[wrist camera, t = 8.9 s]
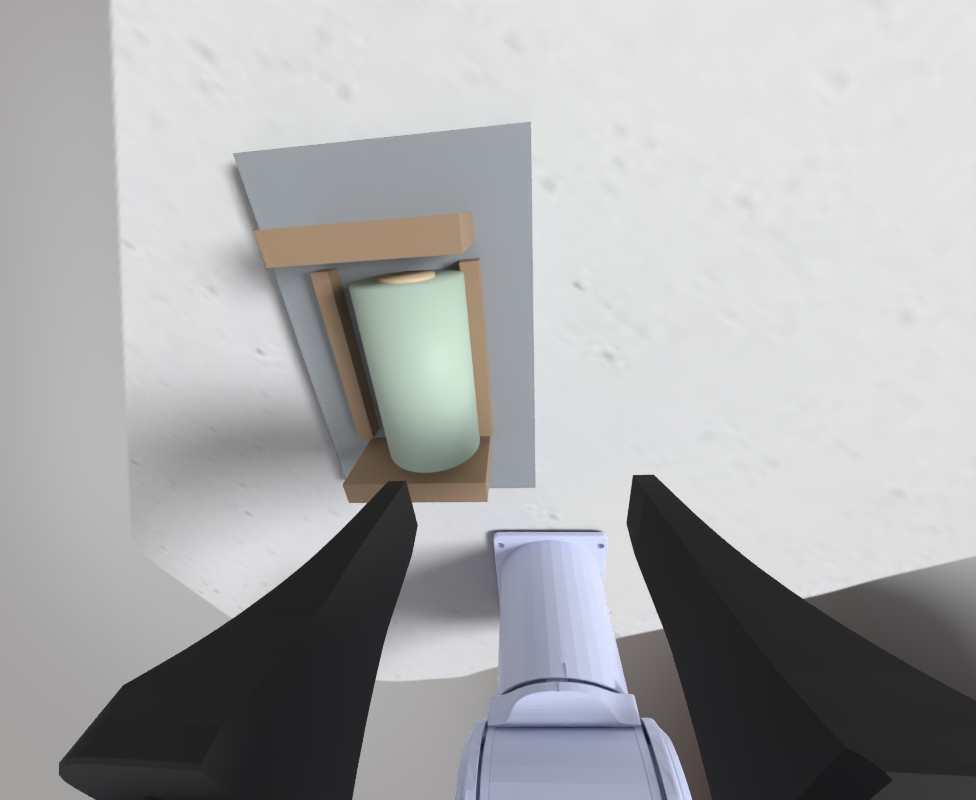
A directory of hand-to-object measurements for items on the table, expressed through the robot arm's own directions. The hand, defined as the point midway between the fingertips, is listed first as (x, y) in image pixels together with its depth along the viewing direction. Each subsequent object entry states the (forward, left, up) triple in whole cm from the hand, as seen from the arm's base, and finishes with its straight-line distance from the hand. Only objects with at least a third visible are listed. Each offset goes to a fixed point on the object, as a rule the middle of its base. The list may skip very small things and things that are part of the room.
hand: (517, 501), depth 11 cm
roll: (+2, +5, -8) cm, 10 cm away
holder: (+2, +5, -9) cm, 11 cm away
